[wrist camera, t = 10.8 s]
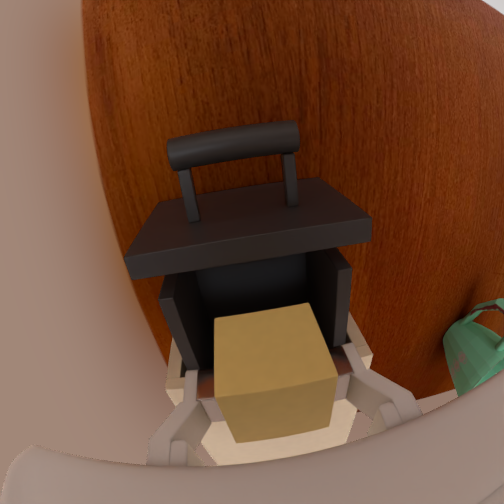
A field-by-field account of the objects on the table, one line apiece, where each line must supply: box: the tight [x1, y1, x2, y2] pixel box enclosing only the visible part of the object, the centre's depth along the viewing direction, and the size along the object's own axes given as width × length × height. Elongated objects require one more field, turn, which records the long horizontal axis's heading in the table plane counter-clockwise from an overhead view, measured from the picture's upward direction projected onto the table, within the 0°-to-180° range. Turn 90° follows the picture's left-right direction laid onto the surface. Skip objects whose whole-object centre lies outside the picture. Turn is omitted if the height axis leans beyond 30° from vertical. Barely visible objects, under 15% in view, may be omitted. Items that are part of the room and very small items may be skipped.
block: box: [214, 303, 338, 443], centre depth 11 cm, size 4×4×4 cm
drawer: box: [124, 120, 372, 370], centre depth 17 cm, size 18×11×8 cm, turn 7°
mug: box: [443, 298, 504, 397], centre depth 25 cm, size 15×10×10 cm
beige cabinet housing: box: [165, 312, 373, 465], centre depth 22 cm, size 15×12×10 cm
